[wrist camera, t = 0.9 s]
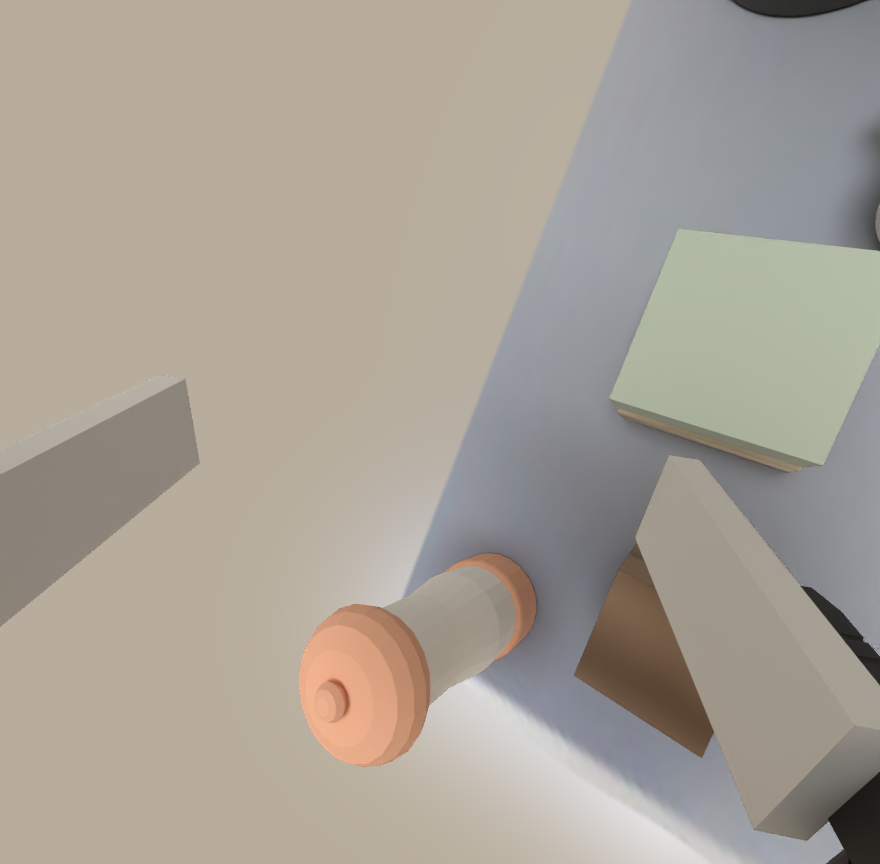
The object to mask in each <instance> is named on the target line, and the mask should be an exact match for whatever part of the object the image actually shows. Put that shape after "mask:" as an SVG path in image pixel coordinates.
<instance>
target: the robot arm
mask: <svg viewBox="0 0 880 864" xmlns="http://www.w3.org/2000/svg"><path fill="white" fill-rule="evenodd" d="M734 1H736V2H737V3H739V4H740V5H742V6H744V7H746V8H748V9H751V10H754V11H757V12H760V13H765V14H771V15H782V16H795V15H806V14H814V13H819V12H825V11H829V10H833V9H837V8H841V7H844V6H847V5H850V4H853V3H856V2H859V1H862V0H734ZM199 463H200V461H199V455H198V450H197V444H196V438H195V433H194V426H193V420H192V414H191V408H190V403H189V397H188V391H187V386H186V380H185V379H184V378H177V377H171V376H165V375H158V376H155V377H153V378H151V379H149V380H147V381H145V382H142V383H141V384H138V385H136V386H134V387H132V388H130V389H127V390H125V391H123V392H121V393H119V394H117V395H115V396H113V397H110V398H108V399H106V400H104V401H102V402H99V403H97V404H95V405H93V406H91V407H89V408H87V409H85V410H82V411H80V412H78V413H76V414H74V415H72V416H69V417H68V418H65V419H63V420H61V421H59V422H57V423H54V424H52V425H50V426H48V427H46V428H44V429H42V430H39V431H37V432H35V433H33V434H31V435H29V436H27V437H25V438H22V439H20V440H18V441H16V442H14V443H12V444H9V445H7V446H5V447H3V448H1V449H0V627H1V626H2V625H3V624H4V623H5V622H7V621H8V620H9V619H10V618H12V617H13V616H14V615H15V614H17V612H19V611H20V610H21V609H23V608H24V607H25V606H26V605H27V604H29V603H30V602H31V601H32V600H34V599H35V598H36V597H37V596H38V595H40V594H41V593H42V592H43V591H45V590H46V589H47V588H48V587H49V586H51V585H52V584H53V583H54V582H56V581H57V580H58V579H59V578H60V577H62V576H63V575H64V574H65V573H67V571H69V570H70V569H71V568H73V567H74V566H75V565H76V564H78V563H79V562H80V561H81V560H82V559H84V558H85V557H86V556H87V555H88V554H90V553H91V552H92V551H93V550H95V549H96V548H97V547H98V546H100V545H101V544H102V543H103V542H104V541H105V540H107V539H108V538H109V537H110V536H111V535H113V534H114V533H115V532H117V531H118V530H119V529H120V528H121V527H123V526H124V525H125V524H126V523H127V522H129V521H130V520H131V519H132V518H134V517H135V516H136V515H137V514H139V512H141V511H142V510H143V509H144V508H146V507H147V506H148V505H149V504H150V503H152V502H153V501H154V500H156V499H157V498H158V497H159V496H160V495H162V494H163V493H164V492H165V491H166V490H168V489H169V488H170V487H171V486H173V485H174V484H175V483H176V482H178V481H179V480H180V479H181V478H182V477H184V476H185V475H186V474H187V473H189V472H190V471H191V470H192V469H193V468H195V467H196V466H197V465H198V464H199ZM635 539H636V541H637V544H638V546H639V549H640V551H641V554H642V556H643V559H644V561H645V563H646V566H647V568H648V571H649V573H650V576H651V578H652V581H653V583H654V586H655V588H656V590H657V593H658V595H659V598H660V600H661V603H662V605H663V608H664V610H665V613H666V615H667V618H668V620H669V622H670V625H671V627H672V630H673V632H674V635H675V637H676V640H677V642H678V645H679V647H680V649H681V652H682V654H683V657H684V659H685V662H686V664H687V667H688V669H689V672H690V674H691V676H692V679H693V681H694V684H695V686H696V689H697V691H698V694H699V696H700V699H701V701H702V703H703V706H704V708H705V711H706V713H707V716H708V718H709V721H710V723H711V726H712V728H713V730H714V733H715V735H716V738H717V740H718V743H719V745H720V748H721V750H722V753H723V755H724V757H725V760H726V762H727V765H728V767H729V770H730V772H731V775H732V777H733V780H734V782H735V784H736V787H737V789H738V792H739V794H740V797H741V799H742V802H743V804H744V807H745V809H746V811H747V814H748V816H749V819H750V821H751V824H752V826H753V829H754V830H758V831H763V832H768V833H772V834H777V835H782V836H787V837H791V838H796V839H801V840H806V841H807V840H808V839H809V838H810V837H812V836H813V835H814V834H815V833H816V832H817V831H818V830H819V829H821V828H822V827H823V826H824V825H825V824H826V823H827V822H828V821H829V822H830V824H831V826H832V827H833V829H834V831H835V833H836V835H837V837H838V839H839V841H840V842H841V844H842V846H843V848H844V850H842V851H841V852H840V853H839V854H837V855H836V856H835V857H834V858H832V859H831V860H830V861H829V862H828V863H826V864H880V656H879V655H878V654H877V653H876V652H875V651H874V649H873V648H872V647H871V646H870V645H869V644H868V643H865V642H864V641H863V636H862V635H861V634H860V633H859V632H858V631H857V629H856V628H855V627H854V626H853V625H852V624H851V622H850V621H849V620H848V619H847V618H846V616H845V615H844V614H843V613H842V612H841V611H840V610H839V609H837V608H836V607H835V606H834V605H832V604H831V603H830V602H829V601H827V600H826V599H825V598H824V597H822V596H821V595H820V594H819V593H817V592H816V591H815V590H814V589H812V588H810V587H804V586H800V585H799V584H798V583H797V581H796V580H795V579H794V578H793V576H792V575H791V574H790V573H789V571H788V570H787V569H786V568H785V566H784V565H783V564H782V563H781V561H780V560H779V559H778V557H777V556H776V555H775V554H774V552H773V551H772V550H771V549H770V547H769V546H768V545H767V544H766V542H765V541H764V540H763V539H762V537H761V536H760V535H759V534H758V532H757V531H756V530H755V529H754V527H753V526H752V525H751V524H750V522H749V521H748V520H747V519H746V517H745V516H744V515H743V514H742V512H741V511H740V510H739V509H738V507H737V506H736V505H735V504H734V502H733V501H732V500H731V499H730V497H729V496H728V495H727V494H726V492H725V491H724V490H723V489H722V487H721V486H720V485H719V484H718V482H717V481H716V480H715V479H714V477H713V476H712V475H711V474H710V472H709V471H708V470H707V469H706V467H705V466H704V465H703V464H702V462H701V461H700V460H697V459H690V458H684V457H678V456H671V455H669V456H668V459H667V461H666V464H665V466H664V469H663V471H662V473H661V476H660V478H659V481H658V483H657V486H656V488H655V490H654V493H653V495H652V498H651V500H650V502H649V505H648V507H647V510H646V512H645V515H644V517H643V519H642V522H641V524H640V527H639V529H638V531H637V534H636V536H635Z"/></svg>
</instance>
